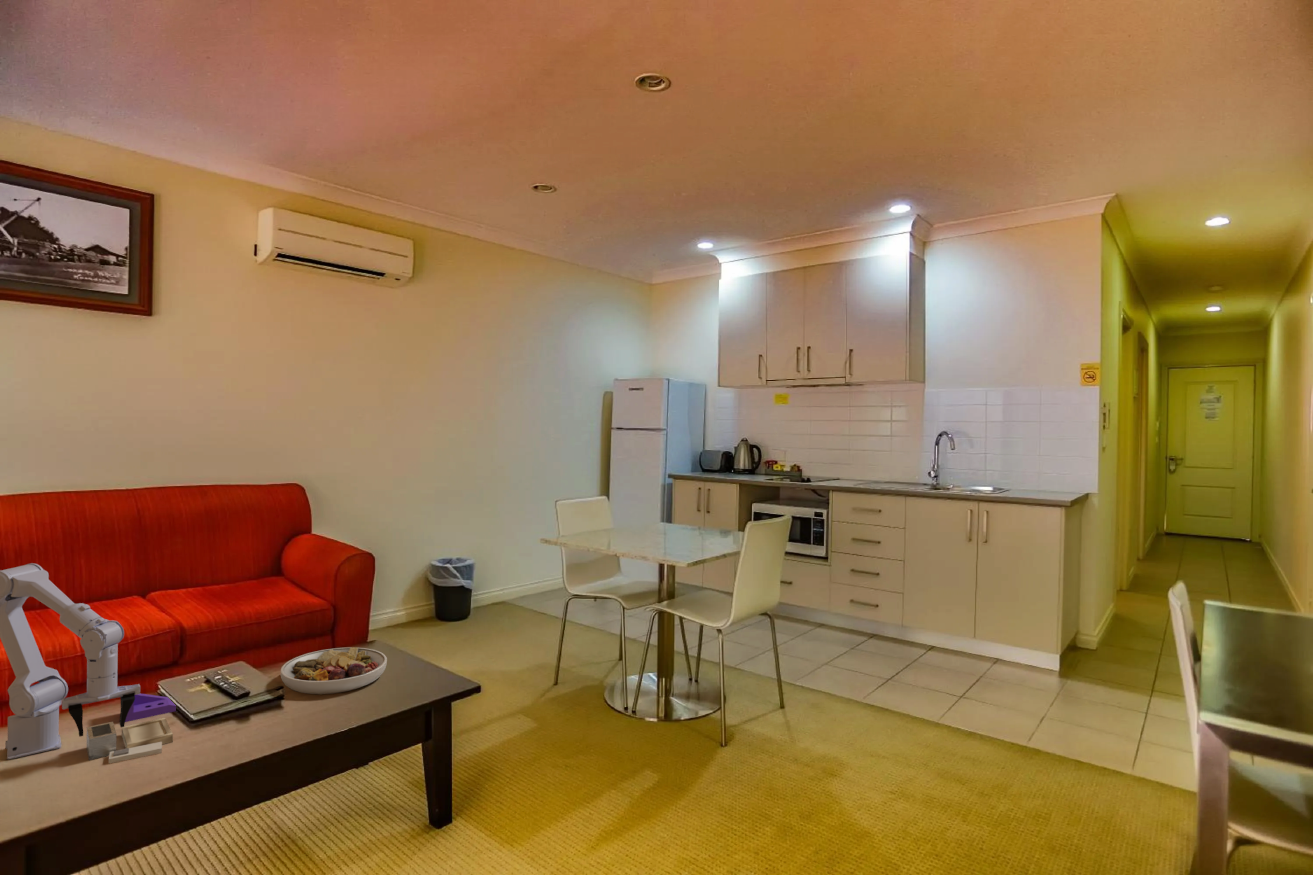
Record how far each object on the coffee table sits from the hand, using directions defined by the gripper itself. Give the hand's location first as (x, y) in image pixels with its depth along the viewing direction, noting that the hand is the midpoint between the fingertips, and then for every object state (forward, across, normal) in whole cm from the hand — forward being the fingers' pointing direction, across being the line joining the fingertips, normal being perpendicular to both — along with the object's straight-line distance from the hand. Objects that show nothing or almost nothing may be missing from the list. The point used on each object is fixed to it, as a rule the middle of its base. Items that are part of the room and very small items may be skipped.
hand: (101, 730), depth 166 cm
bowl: (+6, +58, +14) cm, 60 cm away
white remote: (+6, +6, -7) cm, 11 cm away
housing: (+5, 0, 0) cm, 5 cm away
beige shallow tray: (+5, +9, +1) cm, 10 cm away
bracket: (+6, +12, +19) cm, 23 cm away
